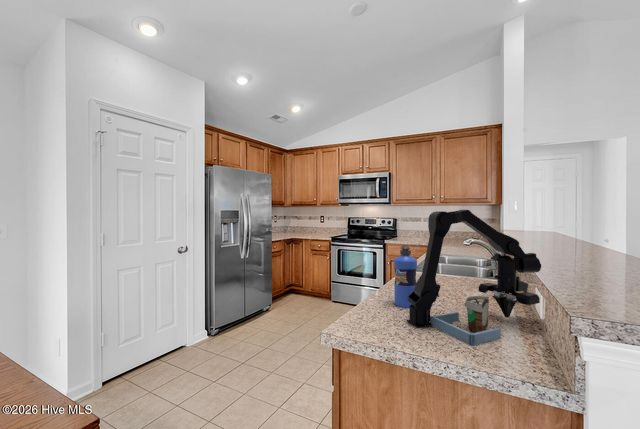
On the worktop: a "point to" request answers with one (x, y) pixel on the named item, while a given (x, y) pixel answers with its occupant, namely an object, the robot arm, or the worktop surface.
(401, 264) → the water bottle
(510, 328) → the worktop surface
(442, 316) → the slate-blue bay
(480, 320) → the food container
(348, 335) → the worktop surface
